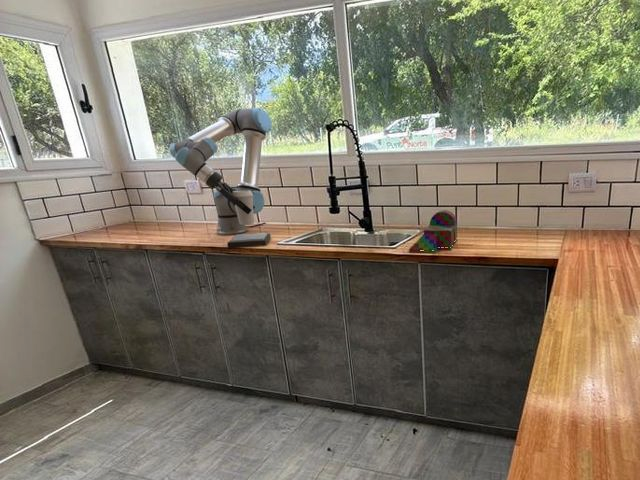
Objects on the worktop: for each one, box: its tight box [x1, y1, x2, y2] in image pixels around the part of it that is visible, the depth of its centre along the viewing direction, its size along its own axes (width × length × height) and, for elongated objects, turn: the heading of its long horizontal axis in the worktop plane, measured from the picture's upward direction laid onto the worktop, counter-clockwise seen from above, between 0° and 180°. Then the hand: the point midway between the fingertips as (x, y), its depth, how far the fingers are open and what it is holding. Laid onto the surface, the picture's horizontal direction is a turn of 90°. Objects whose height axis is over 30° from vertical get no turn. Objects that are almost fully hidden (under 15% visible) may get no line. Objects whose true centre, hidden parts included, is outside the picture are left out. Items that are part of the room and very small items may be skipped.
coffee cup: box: [233, 190, 255, 226], centre depth 211 cm, size 10×10×15 cm
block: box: [408, 209, 458, 254], centre depth 196 cm, size 25×17×14 cm
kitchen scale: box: [226, 232, 272, 249], centre depth 217 cm, size 18×17×3 cm
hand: (251, 210), depth 212 cm, fingers closed on coffee cup, 10 cm apart
